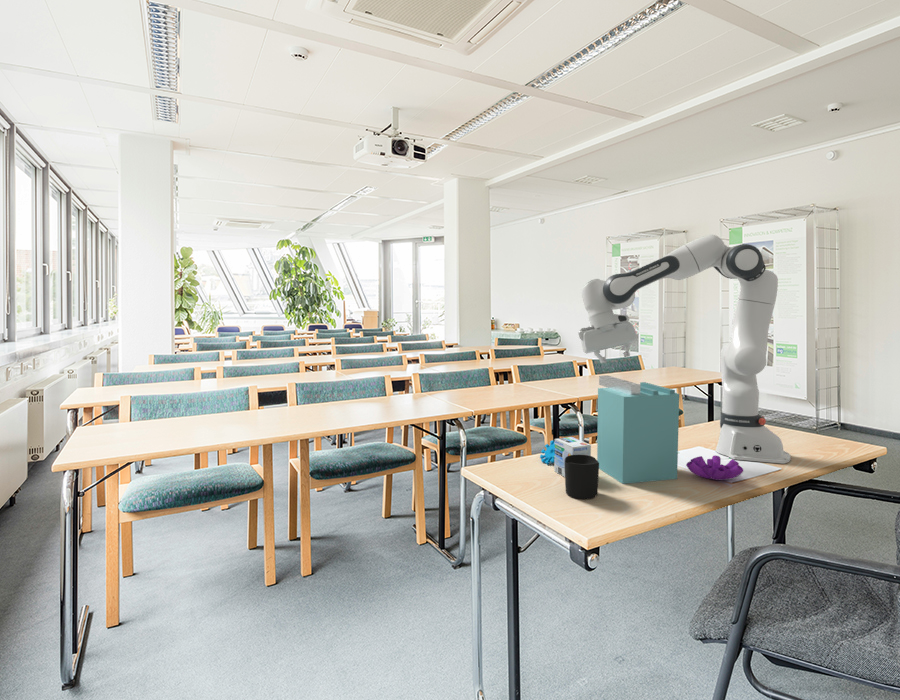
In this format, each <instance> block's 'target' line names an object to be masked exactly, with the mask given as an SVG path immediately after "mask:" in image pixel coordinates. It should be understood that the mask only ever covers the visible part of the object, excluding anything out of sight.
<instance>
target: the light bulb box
mask: <svg viewBox="0 0 900 700" xmlns="http://www.w3.org/2000/svg"><path fill="white" fill-rule="evenodd" d="M554 442H555V460H554V463H553V464H554V465H553V469H554V470H553V471H554V472H555V473H557V474H558V475H559V476H562V477H564V478H565V463H564V461H565V458H566V457H567V456H569V455H589V456H591V454H592V449H591V448H592V445H591V444H589V443H587V442H585V441H583V440H581V439H578V438H575V437H573V436H569V437H562V438H561V437H560V438H559V437H558V438H554Z"/></svg>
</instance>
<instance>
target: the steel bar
mask: <svg viewBox="0 0 900 700" xmlns="http://www.w3.org/2000/svg"><path fill="white" fill-rule="evenodd" d="M598 381H599V383H598V385H599V386H602V387H603V388H611V389H614V390H617V391H620V392H623V393H626V394H629V395H640V384H639V383H636V382H632V381H629V380H625V379H622V378H617V377H614V376H610V375H599V377H598Z"/></svg>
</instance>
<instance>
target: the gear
mask: <svg viewBox="0 0 900 700" xmlns="http://www.w3.org/2000/svg"><path fill="white" fill-rule="evenodd" d="M544 447H545V448H546V450H545V449H544V448H542V450H541V451H540V452H541V454H540V455H539V459H541V460H540V461H541V462H542V463H543V462H544V463H543V464H547V465H549V464H550V463H551V464H554V460H555V440H554V439H553V440H550V442H549V444H548V443H546V444H545V445H544Z"/></svg>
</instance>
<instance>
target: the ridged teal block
mask: <svg viewBox="0 0 900 700" xmlns="http://www.w3.org/2000/svg"><path fill="white" fill-rule="evenodd" d="M639 383H640V395H629V394H626V393H623V392H620V391H617V390H614V389H611V388H607V387H598V388H597V440H596V441H597V448H596V449H597V450H596V451H597V452H596V453H597V454H596V455H597V456H596V457H597V458H596V460H597V461H598V462H599V470H601V471H602V472H604V473H605V474H607V475H608V476H610V477H612V478H613V479H615V480H616V481H618V482H619V483H620V484H622V485H623V484H625V485H626V484H635V483H636V484H637V483H647V482H657V481H658V482H659V481H667V480H668V481H669V480H677V479H678V463H679V462H678V459H679V424H680V423H679V418H680V413H679V412H680V393H678V392H676V390H675V389H673V388H668V387H665V386H660V385H656V384H653V383H648V382H646V381H641V382H639Z"/></svg>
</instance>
